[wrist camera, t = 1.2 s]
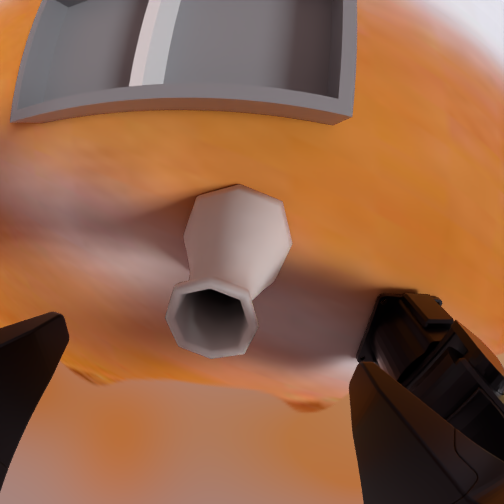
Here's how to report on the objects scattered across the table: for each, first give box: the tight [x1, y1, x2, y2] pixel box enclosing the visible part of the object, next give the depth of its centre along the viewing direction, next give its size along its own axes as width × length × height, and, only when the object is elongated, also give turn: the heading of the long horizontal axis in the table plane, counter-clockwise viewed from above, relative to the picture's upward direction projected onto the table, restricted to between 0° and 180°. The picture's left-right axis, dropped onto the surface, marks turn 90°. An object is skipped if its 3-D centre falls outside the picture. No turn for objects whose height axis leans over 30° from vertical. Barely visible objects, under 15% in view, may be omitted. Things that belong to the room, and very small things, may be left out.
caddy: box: [10, 0, 357, 125], centre depth 12 cm, size 12×22×4 cm, turn 84°
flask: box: [165, 184, 292, 359], centre depth 14 cm, size 7×7×10 cm
